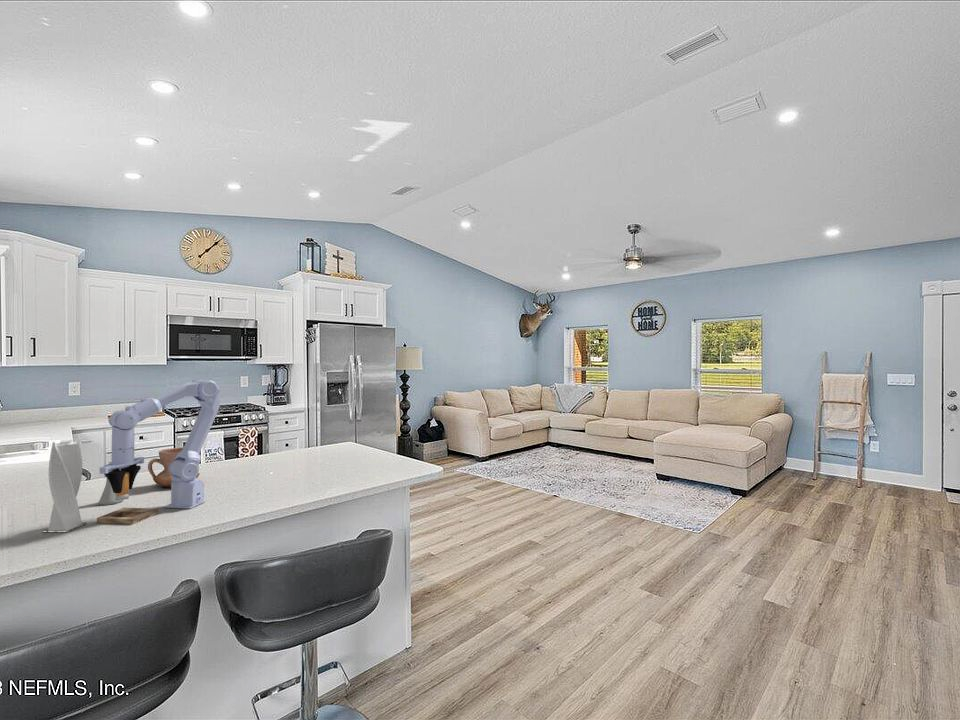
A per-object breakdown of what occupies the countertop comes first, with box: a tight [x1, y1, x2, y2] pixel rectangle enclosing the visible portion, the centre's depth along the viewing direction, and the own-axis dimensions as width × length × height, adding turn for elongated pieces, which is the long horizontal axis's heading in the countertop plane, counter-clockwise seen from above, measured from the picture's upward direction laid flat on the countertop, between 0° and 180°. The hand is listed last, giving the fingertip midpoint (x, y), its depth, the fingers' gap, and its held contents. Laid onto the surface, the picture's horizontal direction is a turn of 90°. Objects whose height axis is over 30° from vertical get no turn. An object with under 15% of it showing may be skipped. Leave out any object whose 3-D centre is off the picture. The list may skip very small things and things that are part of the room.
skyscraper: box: [43, 434, 88, 533], centre depth 137 cm, size 8×8×28 cm
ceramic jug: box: [147, 446, 202, 488], centre depth 185 cm, size 18×14×14 cm
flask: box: [97, 477, 124, 506], centre depth 162 cm, size 7×7×10 cm
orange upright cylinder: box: [115, 472, 130, 501], centre depth 146 cm, size 3×3×8 cm
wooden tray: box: [96, 507, 159, 525], centre depth 147 cm, size 12×10×2 cm
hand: (122, 491), depth 146 cm, fingers closed on orange upright cylinder, 3 cm apart
